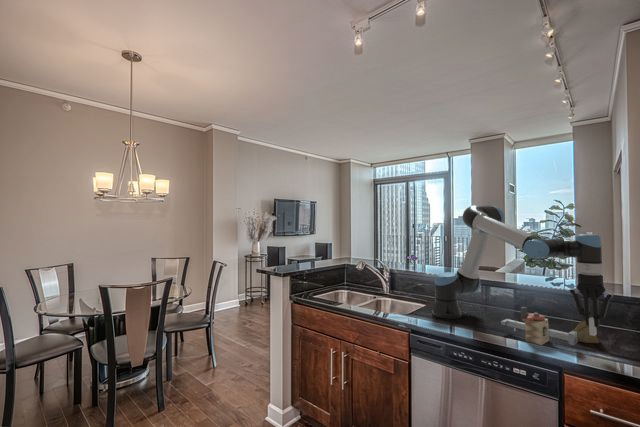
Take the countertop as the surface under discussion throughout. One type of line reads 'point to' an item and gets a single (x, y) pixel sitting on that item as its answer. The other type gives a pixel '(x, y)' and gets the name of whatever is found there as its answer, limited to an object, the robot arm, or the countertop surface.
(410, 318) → the countertop surface
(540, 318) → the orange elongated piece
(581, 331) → the rock
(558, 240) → the robot arm
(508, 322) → the hook bar
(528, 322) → the eye block
